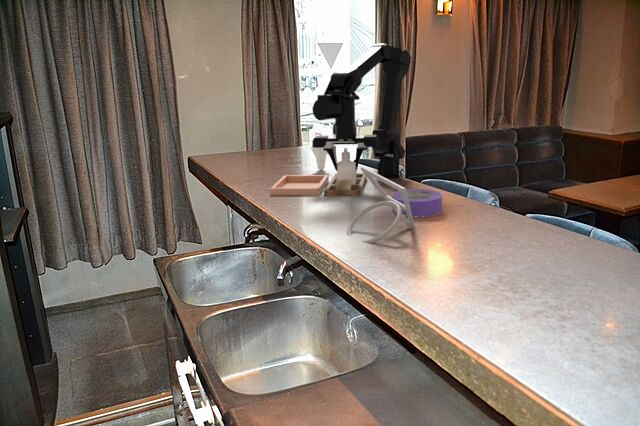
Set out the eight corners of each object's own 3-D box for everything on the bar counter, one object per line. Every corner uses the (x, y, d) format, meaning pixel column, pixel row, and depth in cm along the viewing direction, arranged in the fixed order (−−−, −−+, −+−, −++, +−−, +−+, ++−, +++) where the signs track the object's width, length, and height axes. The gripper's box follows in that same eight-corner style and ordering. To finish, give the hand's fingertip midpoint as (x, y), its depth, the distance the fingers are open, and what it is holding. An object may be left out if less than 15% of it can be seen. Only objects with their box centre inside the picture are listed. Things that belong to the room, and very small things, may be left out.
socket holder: (366, 179, 167) (366, 173, 166) (360, 198, 144) (360, 191, 143) (335, 179, 168) (335, 173, 168) (324, 198, 145) (323, 191, 145)
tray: (328, 182, 164) (328, 175, 163) (319, 197, 147) (319, 188, 146) (284, 183, 166) (284, 175, 165) (270, 197, 149) (270, 188, 148)
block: (351, 193, 150) (351, 179, 149) (350, 196, 146) (349, 182, 145) (337, 193, 151) (337, 179, 150) (335, 196, 147) (335, 182, 146)
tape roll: (402, 223, 121) (402, 202, 119) (385, 210, 132) (385, 191, 130) (449, 218, 123) (450, 198, 121) (429, 206, 134) (430, 187, 132)
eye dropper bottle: (344, 191, 152) (343, 150, 149) (335, 187, 157) (334, 147, 154) (357, 189, 154) (356, 148, 151) (348, 186, 159) (347, 146, 155)
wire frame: (351, 253, 120) (316, 203, 112) (394, 217, 121) (362, 165, 114) (390, 287, 104) (352, 231, 96) (440, 245, 105) (406, 187, 98)
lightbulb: (330, 171, 181) (328, 139, 178) (312, 172, 181) (310, 140, 178) (330, 168, 186) (329, 137, 183) (312, 169, 187) (311, 138, 184)
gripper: (379, 113, 156) (379, 165, 161) (317, 114, 159) (319, 165, 164) (377, 117, 146) (377, 172, 150) (311, 118, 149) (313, 172, 153)
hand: (346, 170), depth 155 cm, fingers closed on eye dropper bottle, 5 cm apart
